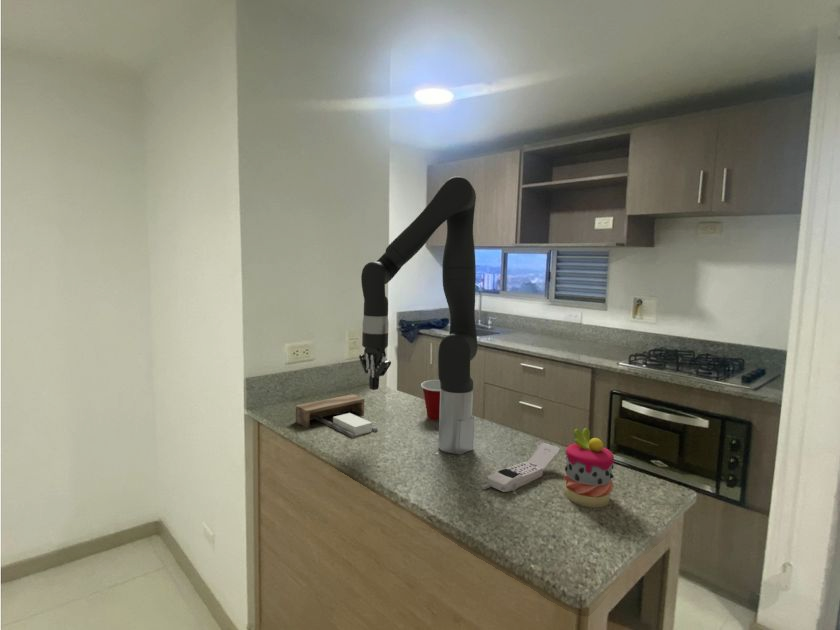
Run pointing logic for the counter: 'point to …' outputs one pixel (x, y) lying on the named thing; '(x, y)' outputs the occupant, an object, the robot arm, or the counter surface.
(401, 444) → the counter surface
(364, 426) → the cream rectangular block
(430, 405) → the plastic cup
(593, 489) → the cake
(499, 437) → the counter surface
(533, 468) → the mobile phone
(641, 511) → the counter surface
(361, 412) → the overhang
